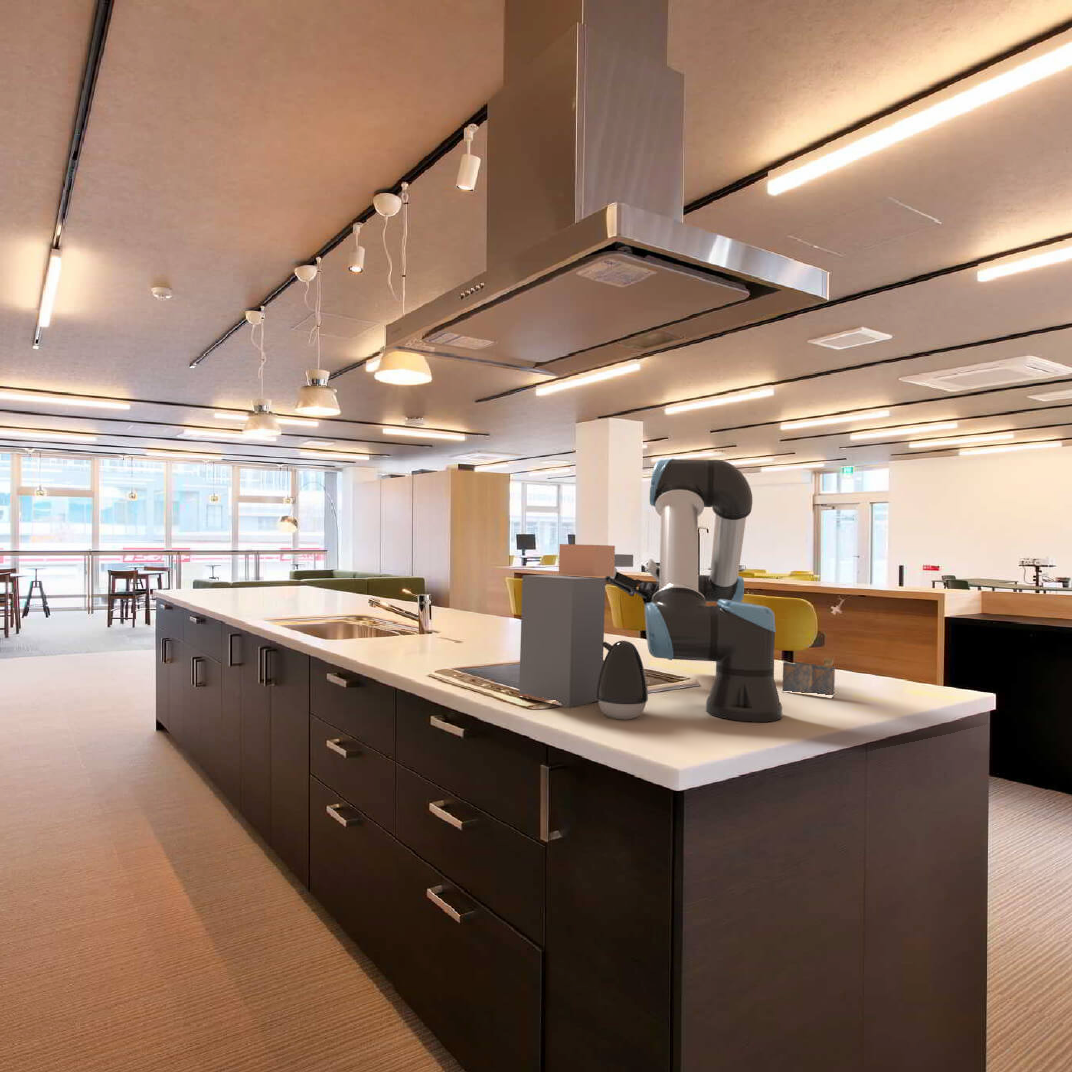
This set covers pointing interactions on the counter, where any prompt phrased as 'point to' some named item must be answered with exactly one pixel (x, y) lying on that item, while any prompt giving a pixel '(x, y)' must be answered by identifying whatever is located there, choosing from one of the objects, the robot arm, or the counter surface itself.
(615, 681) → the pump dispenser
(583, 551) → the orange and grey block
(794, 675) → the ruin model on sheet
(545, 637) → the grey tall block
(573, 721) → the counter surface
